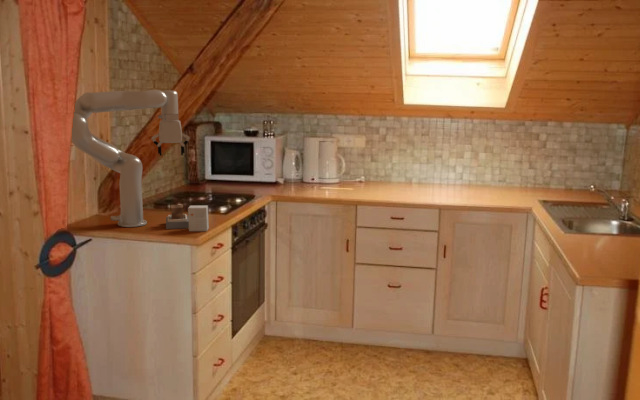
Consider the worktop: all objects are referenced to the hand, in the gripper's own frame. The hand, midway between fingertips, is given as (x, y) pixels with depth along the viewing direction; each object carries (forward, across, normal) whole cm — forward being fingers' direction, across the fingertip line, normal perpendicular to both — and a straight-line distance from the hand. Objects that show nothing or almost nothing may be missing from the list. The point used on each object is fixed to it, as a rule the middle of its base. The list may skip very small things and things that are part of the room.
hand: (171, 155), depth 283 cm
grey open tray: (+30, +2, -14) cm, 33 cm away
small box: (+31, +11, -24) cm, 40 cm away
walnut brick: (+27, +2, -14) cm, 31 cm away
